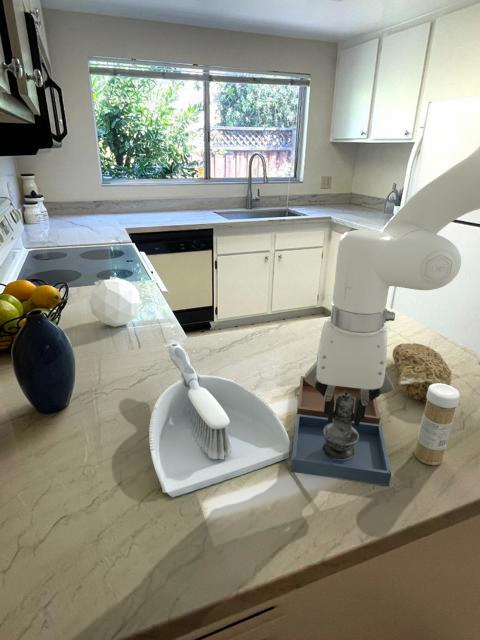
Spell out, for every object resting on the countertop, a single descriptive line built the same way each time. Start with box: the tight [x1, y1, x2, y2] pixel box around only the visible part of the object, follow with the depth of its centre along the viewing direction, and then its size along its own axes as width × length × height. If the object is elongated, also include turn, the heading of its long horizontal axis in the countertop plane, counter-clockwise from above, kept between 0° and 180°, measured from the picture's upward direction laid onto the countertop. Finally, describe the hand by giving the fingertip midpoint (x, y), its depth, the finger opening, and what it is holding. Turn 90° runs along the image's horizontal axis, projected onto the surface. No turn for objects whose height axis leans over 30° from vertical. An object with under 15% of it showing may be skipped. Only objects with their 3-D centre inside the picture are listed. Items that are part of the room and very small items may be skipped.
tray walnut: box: [296, 375, 381, 425], centre depth 81 cm, size 15×12×2 cm
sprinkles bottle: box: [413, 383, 461, 466], centre depth 66 cm, size 5×5×14 cm
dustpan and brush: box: [148, 342, 292, 499], centre depth 75 cm, size 23×33×10 cm
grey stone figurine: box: [323, 390, 359, 461], centre depth 67 cm, size 6×6×12 cm
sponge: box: [391, 342, 452, 403], centre depth 90 cm, size 13×8×20 cm
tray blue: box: [290, 413, 392, 487], centre depth 69 cm, size 15×12×2 cm
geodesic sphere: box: [88, 275, 141, 328], centre depth 115 cm, size 15×14×14 cm
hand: (342, 418), depth 66 cm, fingers closed on grey stone figurine, 3 cm apart
